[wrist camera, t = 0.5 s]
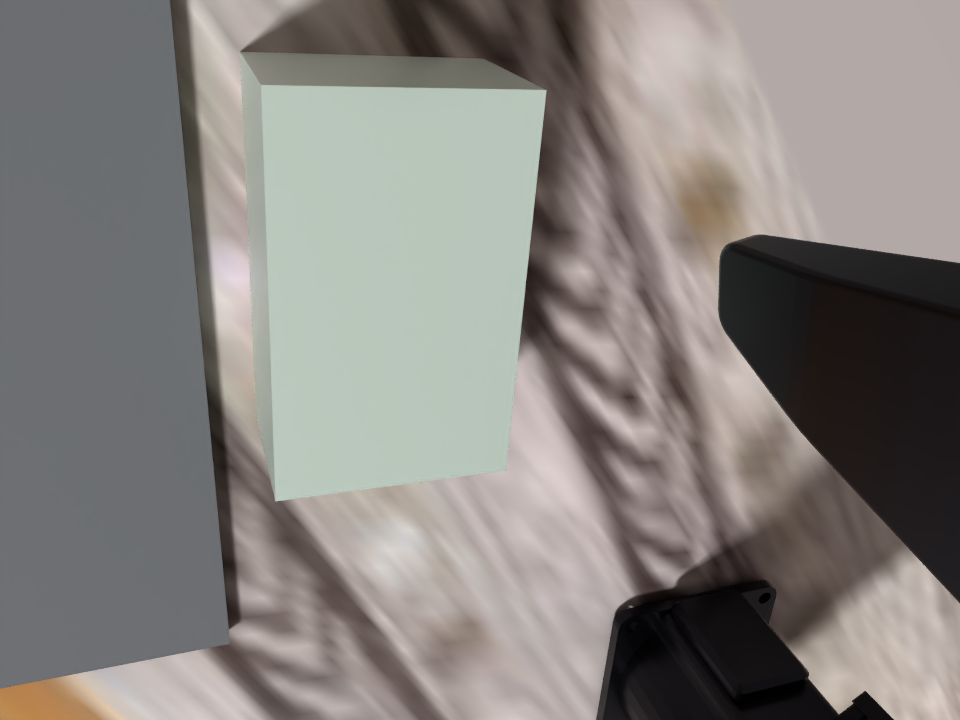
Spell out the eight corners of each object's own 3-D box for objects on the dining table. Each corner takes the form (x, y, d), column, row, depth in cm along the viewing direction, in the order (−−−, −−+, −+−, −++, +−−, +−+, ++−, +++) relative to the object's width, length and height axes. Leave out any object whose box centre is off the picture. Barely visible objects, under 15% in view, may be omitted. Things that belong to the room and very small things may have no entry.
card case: (455, 392, 25) (505, 470, 21) (254, 411, 23) (275, 501, 20) (480, 57, 21) (547, 89, 17) (238, 49, 19) (261, 85, 16)
